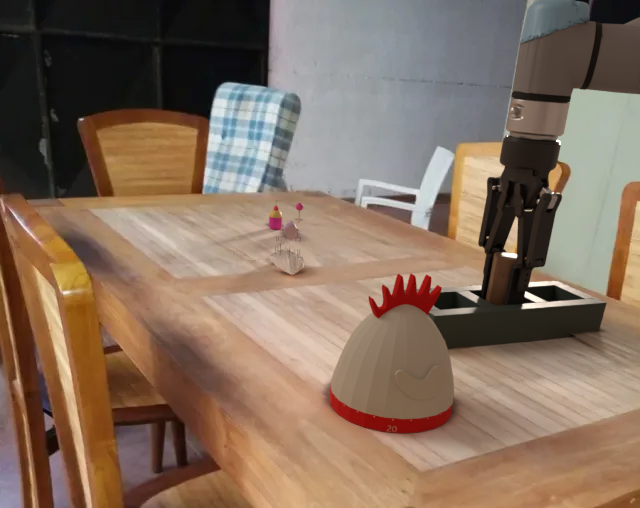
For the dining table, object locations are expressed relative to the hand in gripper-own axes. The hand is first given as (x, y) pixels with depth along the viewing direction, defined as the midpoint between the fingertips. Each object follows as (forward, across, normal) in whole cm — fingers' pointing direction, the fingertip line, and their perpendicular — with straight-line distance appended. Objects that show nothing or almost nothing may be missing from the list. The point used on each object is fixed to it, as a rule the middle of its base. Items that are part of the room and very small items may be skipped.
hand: (500, 304), depth 105 cm
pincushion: (+4, -36, -20) cm, 41 cm away
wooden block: (+1, 0, 0) cm, 1 cm away
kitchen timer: (+4, +19, -28) cm, 34 cm away
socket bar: (+4, 0, 0) cm, 4 cm away
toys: (+4, -65, -9) cm, 66 cm away
